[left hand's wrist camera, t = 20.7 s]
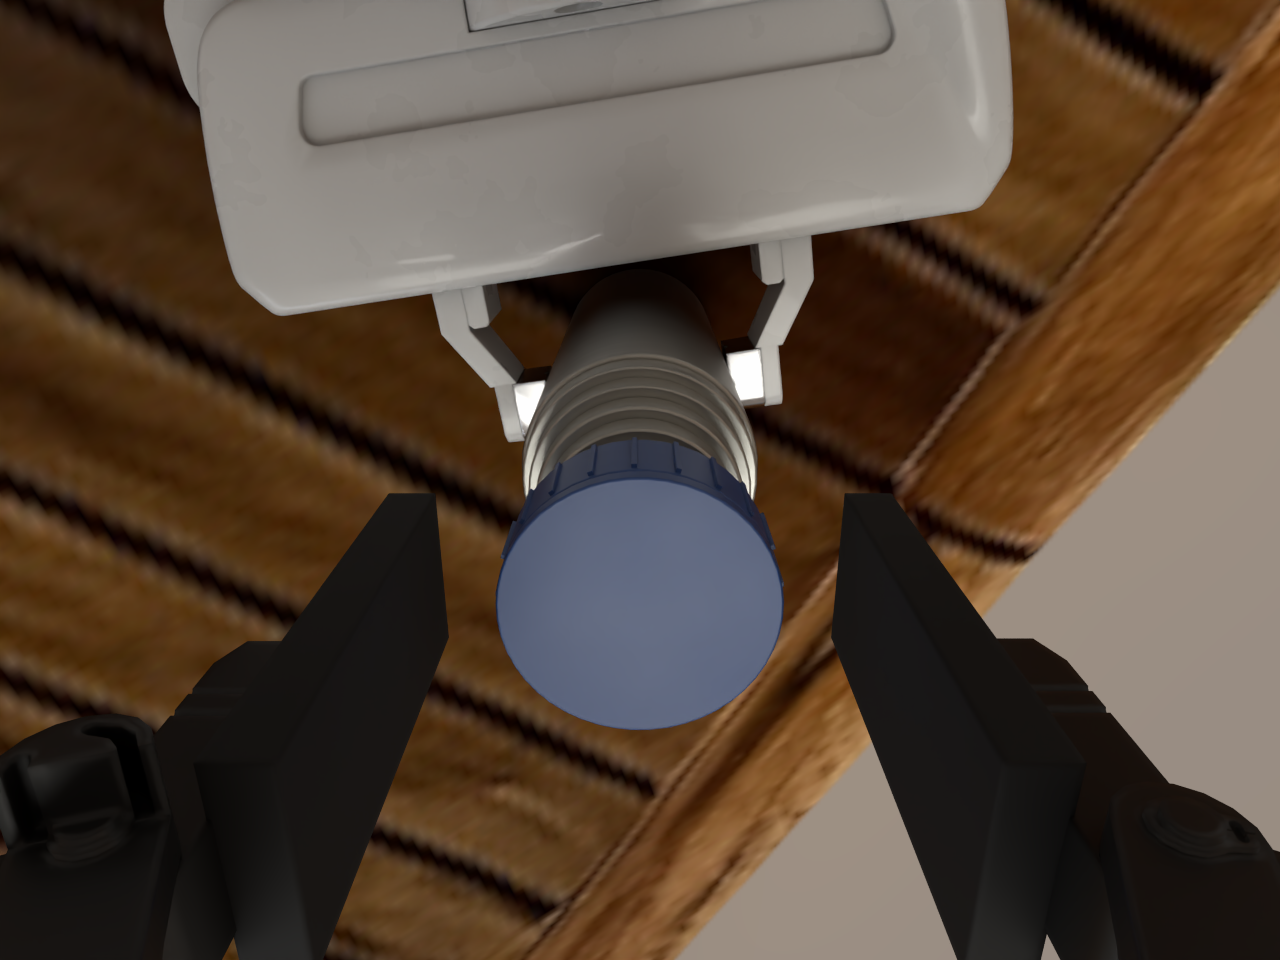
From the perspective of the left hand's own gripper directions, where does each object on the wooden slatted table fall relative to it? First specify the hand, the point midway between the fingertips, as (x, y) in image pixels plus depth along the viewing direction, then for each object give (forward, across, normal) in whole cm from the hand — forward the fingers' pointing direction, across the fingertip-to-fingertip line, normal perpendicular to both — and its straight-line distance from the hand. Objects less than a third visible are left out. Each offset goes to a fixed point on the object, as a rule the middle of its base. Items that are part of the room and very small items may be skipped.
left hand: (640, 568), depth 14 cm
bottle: (+18, 0, 0) cm, 18 cm away
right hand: (+11, 0, -1) cm, 11 cm away
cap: (-1, 0, 0) cm, 1 cm away
